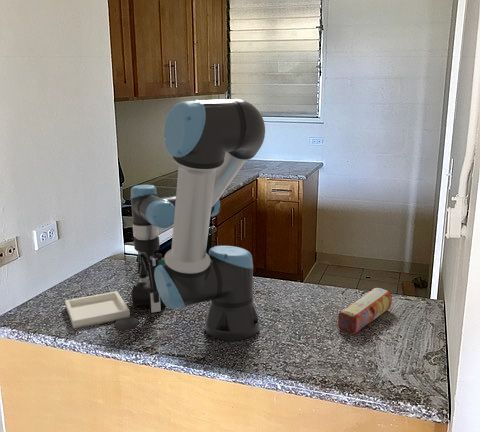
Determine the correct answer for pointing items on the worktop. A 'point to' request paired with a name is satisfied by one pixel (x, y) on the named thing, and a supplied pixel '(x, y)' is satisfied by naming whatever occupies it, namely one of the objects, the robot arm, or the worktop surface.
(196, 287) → the robot arm
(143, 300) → the end cap
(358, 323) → the snack package
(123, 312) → the mount tray
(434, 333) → the worktop surface
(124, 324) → the lens cap
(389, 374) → the worktop surface
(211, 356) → the worktop surface
